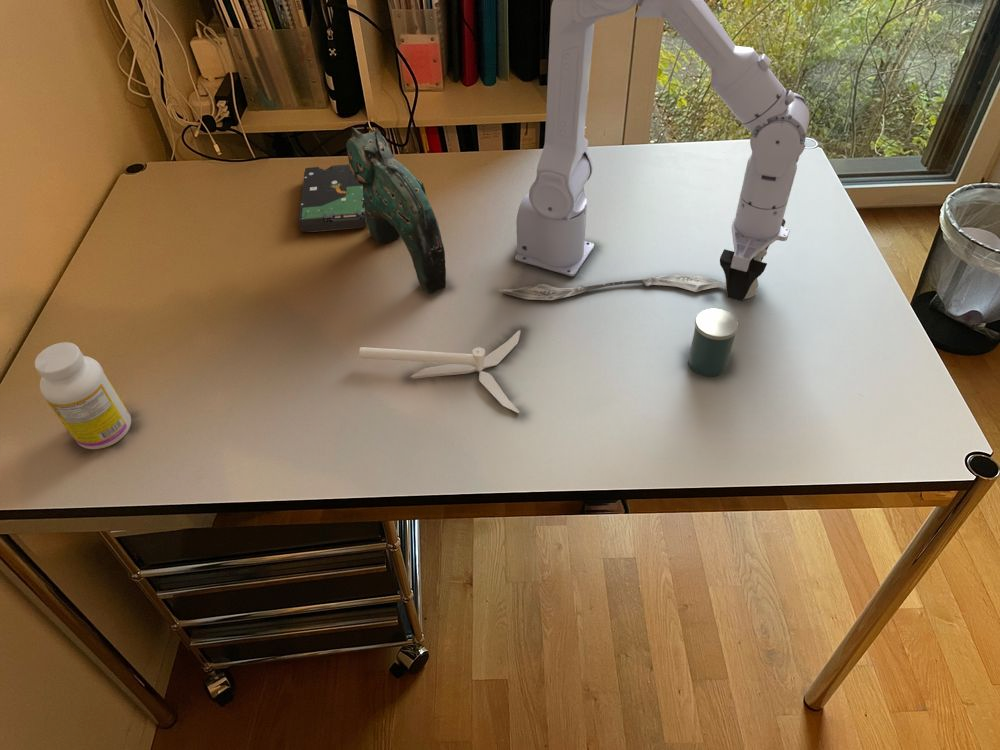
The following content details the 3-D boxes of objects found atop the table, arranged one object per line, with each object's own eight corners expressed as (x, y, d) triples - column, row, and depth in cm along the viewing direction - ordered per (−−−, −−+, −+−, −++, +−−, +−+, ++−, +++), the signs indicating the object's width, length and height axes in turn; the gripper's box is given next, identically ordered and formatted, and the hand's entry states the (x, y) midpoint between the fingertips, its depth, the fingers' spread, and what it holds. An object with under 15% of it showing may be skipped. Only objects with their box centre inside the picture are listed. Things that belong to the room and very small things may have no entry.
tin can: (682, 369, 98) (690, 328, 93) (694, 344, 101) (703, 303, 96) (721, 381, 96) (731, 341, 91) (732, 355, 99) (743, 315, 94)
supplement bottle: (84, 411, 97) (35, 337, 87) (138, 407, 97) (95, 332, 88) (69, 454, 92) (15, 381, 83) (125, 449, 92) (79, 375, 83)
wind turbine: (344, 381, 93) (518, 393, 91) (373, 304, 103) (530, 312, 101) (349, 403, 96) (519, 415, 94) (377, 325, 106) (530, 334, 104)
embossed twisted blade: (731, 290, 108) (721, 267, 111) (732, 287, 107) (721, 264, 110) (501, 312, 106) (497, 289, 110) (500, 309, 106) (497, 285, 109)
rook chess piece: (757, 283, 109) (775, 238, 103) (754, 304, 106) (772, 258, 100) (725, 275, 109) (741, 230, 103) (721, 296, 106) (737, 250, 100)
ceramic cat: (359, 233, 120) (333, 112, 105) (396, 218, 122) (376, 98, 108) (421, 303, 108) (402, 178, 94) (461, 285, 111) (449, 161, 96)
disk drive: (307, 182, 130) (301, 234, 120) (303, 167, 128) (297, 219, 118) (369, 176, 131) (368, 227, 121) (366, 161, 129) (365, 212, 119)
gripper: (782, 236, 90) (758, 322, 100) (810, 173, 99) (785, 258, 109) (722, 221, 93) (705, 306, 103) (755, 161, 101) (735, 245, 111)
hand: (743, 280), depth 106 cm, fingers open, 7 cm apart
